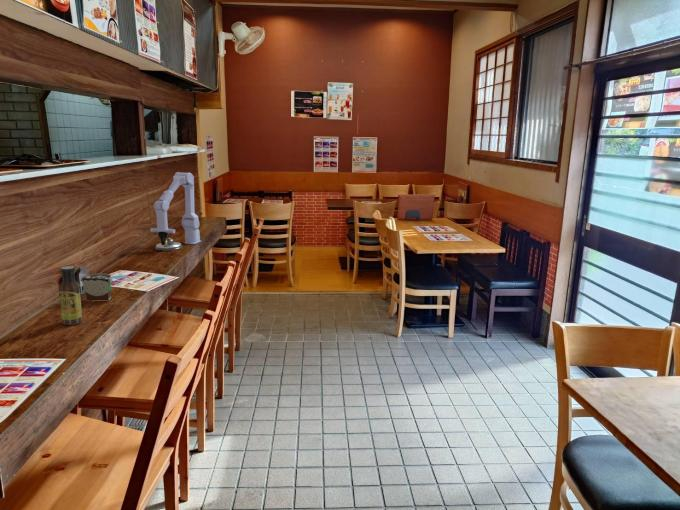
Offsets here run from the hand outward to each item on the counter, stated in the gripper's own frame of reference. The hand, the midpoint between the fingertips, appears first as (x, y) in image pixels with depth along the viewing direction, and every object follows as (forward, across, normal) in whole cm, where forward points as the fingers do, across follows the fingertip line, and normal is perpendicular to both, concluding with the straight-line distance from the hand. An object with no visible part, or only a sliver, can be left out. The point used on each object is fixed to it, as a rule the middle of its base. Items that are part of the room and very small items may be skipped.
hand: (163, 244), depth 276 cm
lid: (+1, 0, +6) cm, 6 cm away
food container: (+4, +24, -86) cm, 89 cm away
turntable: (+2, 0, +6) cm, 6 cm away
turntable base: (+3, 0, +6) cm, 7 cm away
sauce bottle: (+4, +31, -111) cm, 115 cm away
